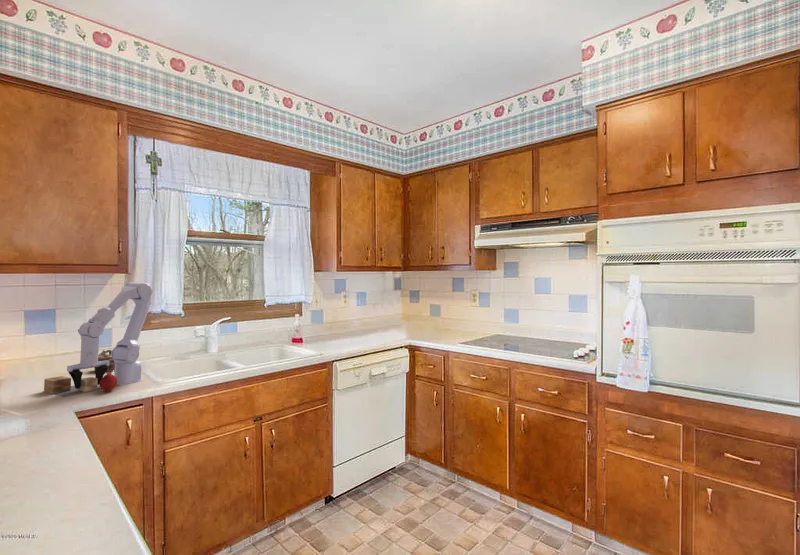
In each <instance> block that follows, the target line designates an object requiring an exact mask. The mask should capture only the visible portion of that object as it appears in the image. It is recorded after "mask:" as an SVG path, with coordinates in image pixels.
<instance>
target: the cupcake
mask: <svg viewBox="0 0 800 555" xmlns="http://www.w3.org/2000/svg"><path fill="white" fill-rule="evenodd" d="M111 352H112V350H110V349H108V350H102V351H101V352H100V353H98V361H105V360H107V361H109V366H107V367H108V369H107V371H106V372H107V373H109V372H110V371H113V370H115V362H114V359H113V358H112V356H111ZM113 372H114V371H113Z"/></svg>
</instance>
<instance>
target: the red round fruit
mask: <svg viewBox="0 0 800 555" xmlns="http://www.w3.org/2000/svg"><path fill="white" fill-rule="evenodd" d="M117 386H118V385H117V378H116V377H115V376H114V374H112V372H107V373H106V374H104V376H103V378H102V379H101V381H100V385H99V388H101V389H100V390H101V391H105V392H106V393H107V392H108V393H109V392H111V391H113V390H114V389H115V388H116V387H117Z"/></svg>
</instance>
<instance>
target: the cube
mask: <svg viewBox="0 0 800 555" xmlns="http://www.w3.org/2000/svg"><path fill="white" fill-rule="evenodd" d="M97 384H98V378H95V377H94V376H93V377H92V376H87V377H83V378H82V377H81V386H80V389H78V390H79V391H83V392H86V393H88V392H87V391H90V392H93V391H92V390H95V391H98V390H97V388H98V385H97Z"/></svg>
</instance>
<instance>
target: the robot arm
mask: <svg viewBox="0 0 800 555" xmlns="http://www.w3.org/2000/svg"><path fill="white" fill-rule="evenodd" d="M153 291H154V290H153V288H152V286H151V285H150V283H148V282H138V281H137V282H133V281H128V282H127V283H125V285H124V286H122V287H121V290H120V292H119V293H118V294H117V295H116V297H114V298H113V299H112V301H111V302H110V303H109V304H108V305H107V307H102V308H99V309H98V310H96V313H95V314H94V315H93V316H92V317H90V318H88V321H86V322H83V323H82V324H81V325H80V326H79V329H77V332H78V335H80V340H81V342H80V358H79V359H80V360H79V363H75V364H72V365H67V366H66V371H67V372H68V374H69V375H70V378H71V380H72V382H73V386H74V385H75V388H76V389H80V386H81V378H82V376H83V373H84V372H83V371H81V370H86V369H93V368H94V374H95V377H94V378H98V384H97V386H100V381H101V379H102V378H103V377H104V376H105V375H106V373H105V372H106V371H107V369H108V367H107V366H109V361H107V360H105V361H98V355H99V349H100V348H99V346H100V345H99V344H100V336H101V335H102V334H103V333H104V329H105V328H106V326H107V325H108V324H109V323H110V322H111V321H112V320H113V318H115V316H116V315H115V312H117V311H118V310H119V309H120V308H122V307H123V305H125V303H126V302H128V301H129V300H132V301H133V302H134V305H135V306H134V309H133V312H132V313H131V316H130V319H129V321H128V324H127V327H126V329H125V331H124V334H123V335H124V336H123V338H122V339H121V340H119V341H118V342H117V343H116V345H115V346H114V347H113V349H112V350H111V351H112V352H111V356H112V358H113V359H114V362H115V371H113V372H114V374H113V375H114V376H115V377H116V378H117V385H116V386H124V385H128V384H133V383H138V382H139V383H140V382H143V380H142V365H141V364H142V363H141V362H140V361H139V360H138V358H139V357H140V348H141V346H140V344H139V342H138V340H139V337H140V335H141V332H142V329H143V326H144V324H145V321H146V319H147V315H148V313H149V310H150V307H151V304H152V294H153Z"/></svg>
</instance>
